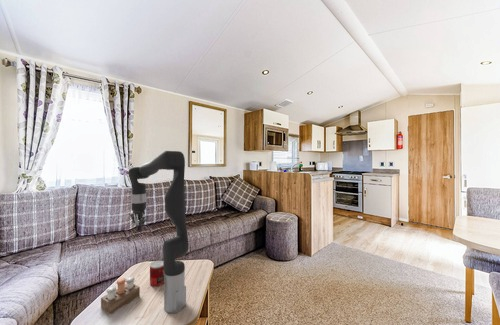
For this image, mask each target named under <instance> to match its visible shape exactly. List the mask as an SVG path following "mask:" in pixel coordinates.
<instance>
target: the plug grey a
mask: <svg viewBox="0 0 500 325" xmlns="http://www.w3.org/2000/svg"><path fill="white" fill-rule="evenodd" d="M115 290H117V286H115V285H112V286H109V287H108V288H106V294H108V301H111V300H112V299H114V298H115Z"/></svg>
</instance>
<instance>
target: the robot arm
mask: <svg viewBox="0 0 500 325" xmlns="http://www.w3.org/2000/svg"><path fill="white" fill-rule="evenodd" d="M185 167H186V161H185V155H184V153H183V151H178V150H164V151H162V152H161V153H159V154H158V155H157V156H155V157H154V158H153V159H151V160H150V161H148V162H146V163H143V164H141V165H140V166H132V167H130V168H129V169H128V172H127V174H128V177H129V178H128V179H129V180H130V184H131V198H130V199H131V202H130V203H131V206H130V207H131V209H130V210H131V211H132V213H131V214H130V218H131V220H132V223H133V224H135V227H136V232H138V233H140V232H141V231H142V226H143V225H145V223H146V222H147V220H148V218H149V217H148V216H147V215H145V214H146V213H145V212H146V211H145V210H146V209H147V186H146V183H143V182H139V181H138V180H143V179H144V180H145V179H148V178H149V177H150V176H153V175H155V174H157V173H158V172H159V170H167V171H173V173H172V174H173V175H172V181H171V184H170V186H169V188H168V189H167V191H166V193H165V197H164V209H165V213H166V215H167V217H168V218H169V219H170V221H171V222H172V223H173V224H174V226H175V229H176V230H175V231H176V236H175V237H171V238H168V239H166V240H164V242H163V244H162V257H163V258H162V261H163V265H164V283H163V285H164V288H163V290H164V291H163V293H164V294H163V295H164V296H163V305H164V306H163V308H164V309H163V310H164V311H165V312H166V313H170V314H173V313H175V314H178V313H179V312H180V311H181V310H182V309H183V308H185V307H186V305H187V286H186V285H185V282H186V281H185V278H186V273H185V270H186V269H185V268H186V267H185V266H186V265H185V263H184V262H183V261H181V260H176V258H180V257H181V256H184V255H186V254H187V253H188V252H189V246H190V245H189V238H188V228H187V221H186V195H185V170H186V168H185Z"/></svg>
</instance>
